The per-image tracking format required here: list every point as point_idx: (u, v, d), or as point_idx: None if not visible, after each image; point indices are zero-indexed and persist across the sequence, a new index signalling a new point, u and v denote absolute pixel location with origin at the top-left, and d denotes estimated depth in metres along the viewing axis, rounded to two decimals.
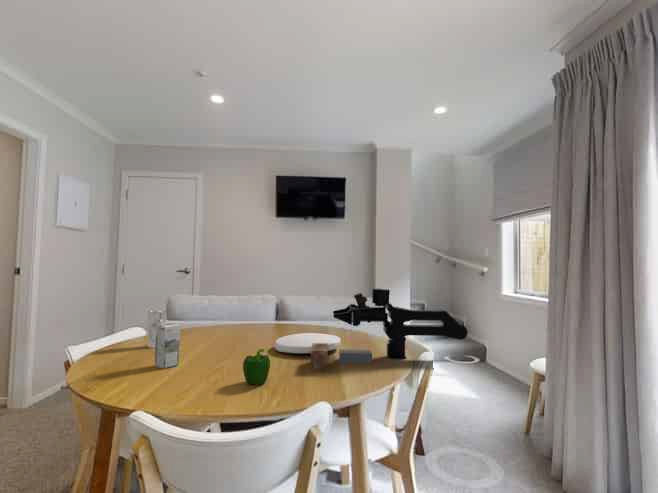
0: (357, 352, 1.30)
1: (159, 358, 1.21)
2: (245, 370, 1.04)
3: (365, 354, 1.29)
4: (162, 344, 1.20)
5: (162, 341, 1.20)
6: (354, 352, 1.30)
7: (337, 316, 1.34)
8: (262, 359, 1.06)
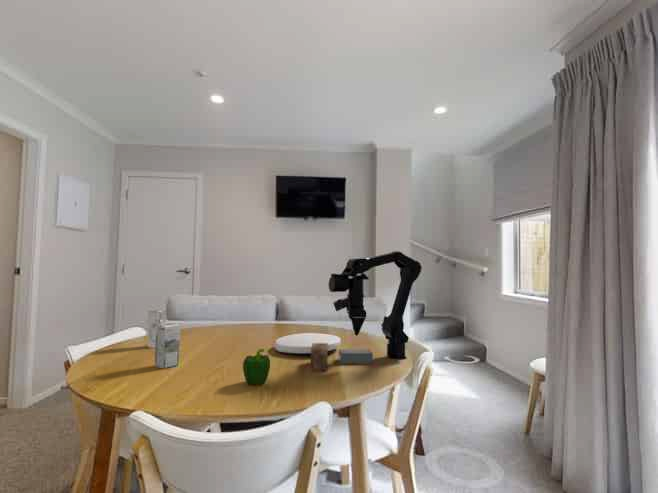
0: (357, 352, 1.30)
1: (159, 358, 1.21)
2: (245, 370, 1.04)
3: (366, 354, 1.29)
4: (162, 344, 1.20)
5: (162, 341, 1.20)
6: (354, 352, 1.30)
7: (357, 331, 1.27)
8: (262, 359, 1.06)
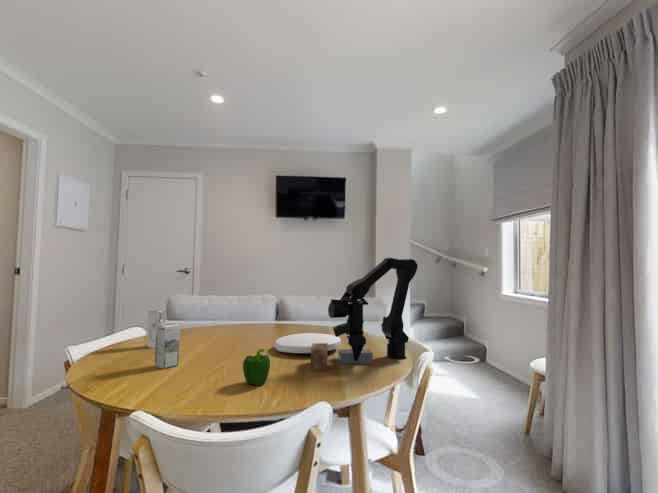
0: None
1: (159, 358, 1.21)
2: (245, 370, 1.04)
3: (366, 354, 1.29)
4: (162, 344, 1.20)
5: (162, 341, 1.20)
6: None
7: (356, 357, 1.28)
8: (262, 359, 1.06)
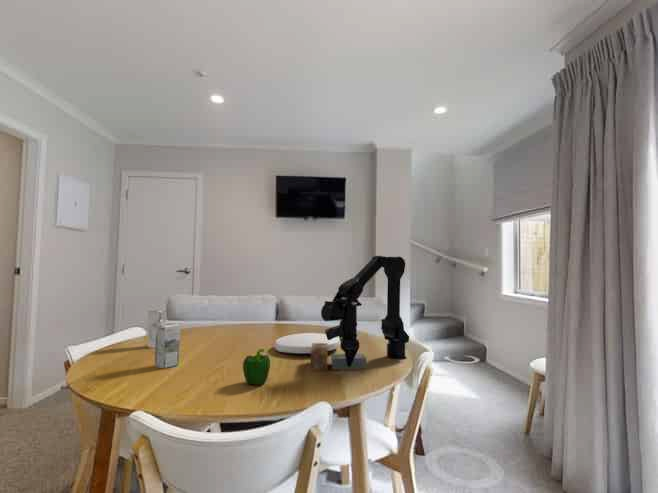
0: None
1: (159, 358, 1.21)
2: (245, 370, 1.04)
3: (359, 359, 1.22)
4: (162, 344, 1.20)
5: (162, 341, 1.20)
6: None
7: (349, 362, 1.20)
8: (262, 359, 1.06)
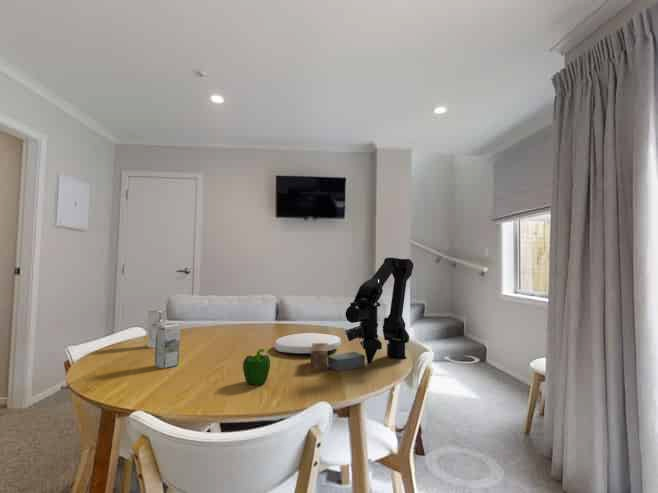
0: (350, 356, 1.24)
1: (159, 358, 1.21)
2: (245, 370, 1.04)
3: (359, 357, 1.25)
4: (162, 344, 1.20)
5: (162, 341, 1.20)
6: (348, 357, 1.24)
7: (369, 359, 1.24)
8: (262, 359, 1.06)
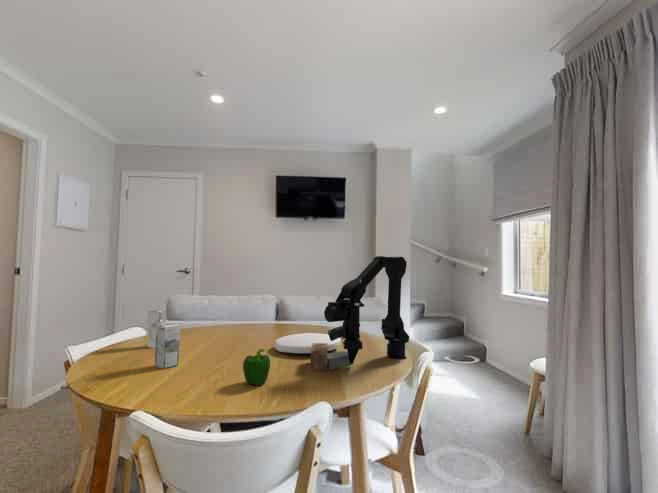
0: (340, 355, 1.26)
1: (159, 358, 1.21)
2: (245, 370, 1.04)
3: None
4: (162, 344, 1.20)
5: (162, 341, 1.20)
6: (338, 355, 1.26)
7: (351, 359, 1.24)
8: (262, 359, 1.06)
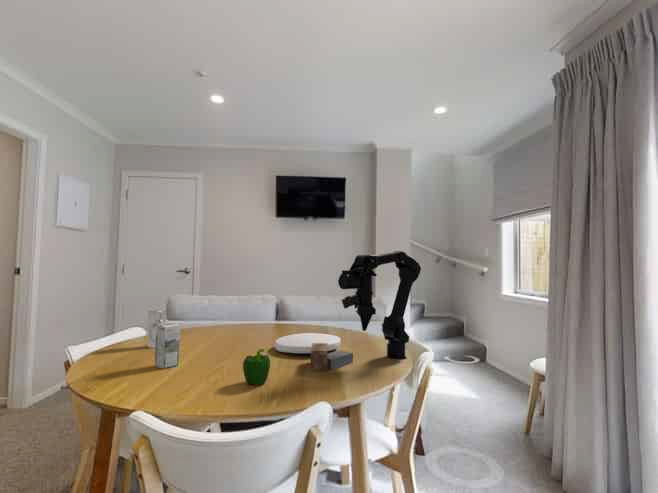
0: (340, 355, 1.27)
1: (159, 358, 1.21)
2: (245, 370, 1.04)
3: (348, 355, 1.28)
4: (162, 344, 1.20)
5: (162, 341, 1.20)
6: (338, 355, 1.26)
7: (364, 326, 1.29)
8: (262, 359, 1.06)
